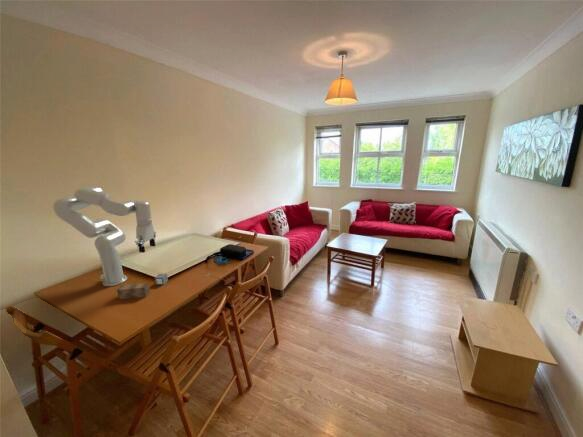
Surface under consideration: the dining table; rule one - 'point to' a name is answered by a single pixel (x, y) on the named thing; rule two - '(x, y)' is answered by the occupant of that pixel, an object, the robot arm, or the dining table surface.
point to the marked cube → (161, 279)
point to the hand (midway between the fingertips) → (147, 249)
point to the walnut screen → (133, 291)
